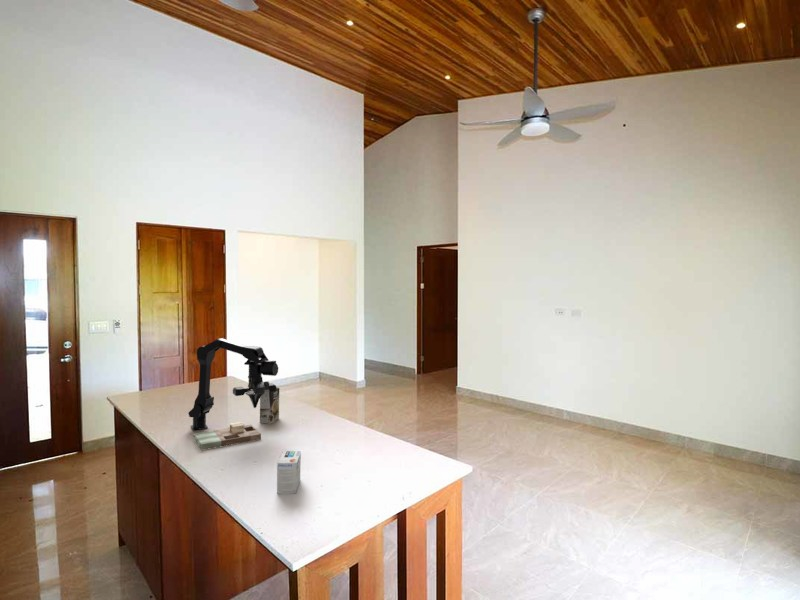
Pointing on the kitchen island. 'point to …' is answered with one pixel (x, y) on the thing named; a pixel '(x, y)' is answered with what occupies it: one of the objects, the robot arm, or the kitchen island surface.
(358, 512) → the kitchen island surface
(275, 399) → the coffee box
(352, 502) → the kitchen island surface
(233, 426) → the block
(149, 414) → the kitchen island surface
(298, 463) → the light bulb box
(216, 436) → the board
